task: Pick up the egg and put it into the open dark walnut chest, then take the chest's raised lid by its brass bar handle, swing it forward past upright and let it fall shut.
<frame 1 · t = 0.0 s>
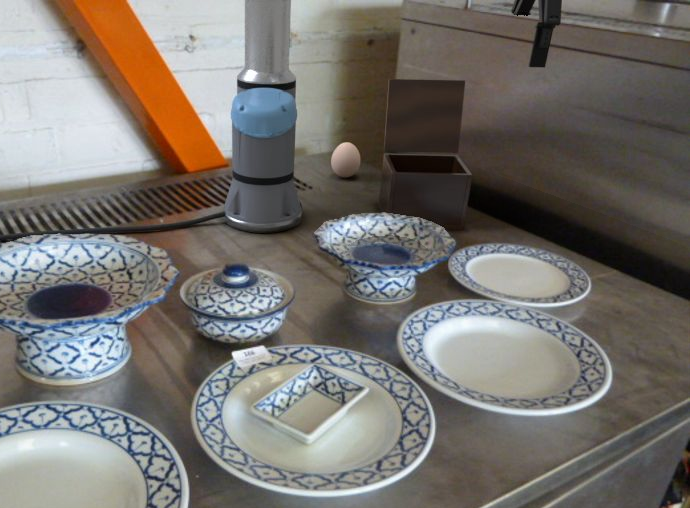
hand: (525, 61, 125), 28 cm above the counter, tool pointing down, fingers open, 13 cm apart
chest: (418, 217, 131), on the counter
lid: (421, 116, 131), point 17 cm above the counter, hinge at 105.0°
egg: (344, 177, 152), on the counter
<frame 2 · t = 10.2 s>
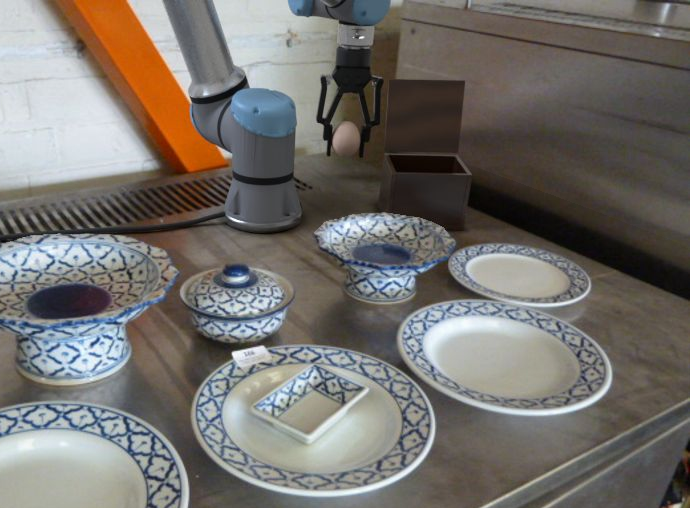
hand: (344, 155, 149), 5 cm above the counter, tool pointing down, fingers closed on egg, 7 cm apart
egg: (344, 157, 149), point 5 cm above the counter, touching gripper
everything else where it was.
when the fingers open (7 cm above the counter, at t = 21.0 s): egg stays where it is, point 1 cm above the counter.
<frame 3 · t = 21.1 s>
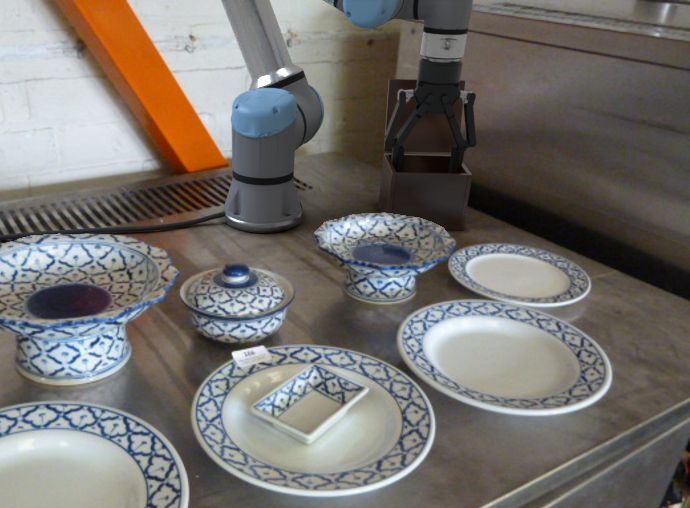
hand: (423, 181, 127), 7 cm above the counter, tool pointing down, fingers open, 9 cm apart
egg: (421, 212, 130), point 1 cm above the counter
everything else where it was.
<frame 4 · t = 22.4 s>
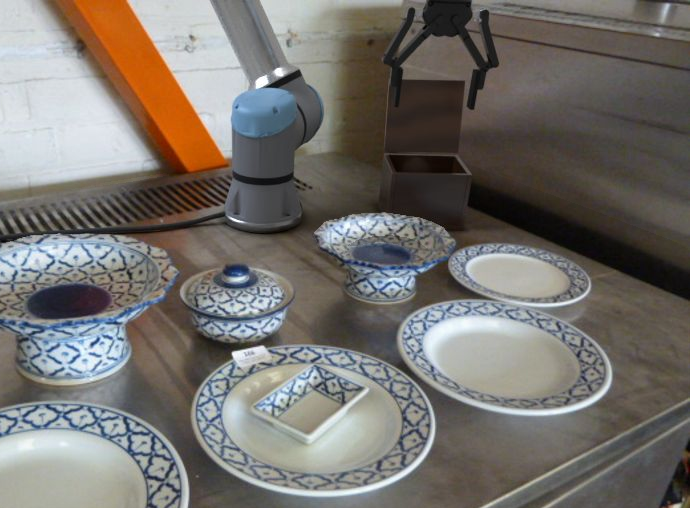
hand: (432, 107, 120), 21 cm above the counter, tool pointing down, fingers open, 13 cm apart
egg: (421, 214, 130), point 1 cm above the counter, touching chest
everything else where it was.
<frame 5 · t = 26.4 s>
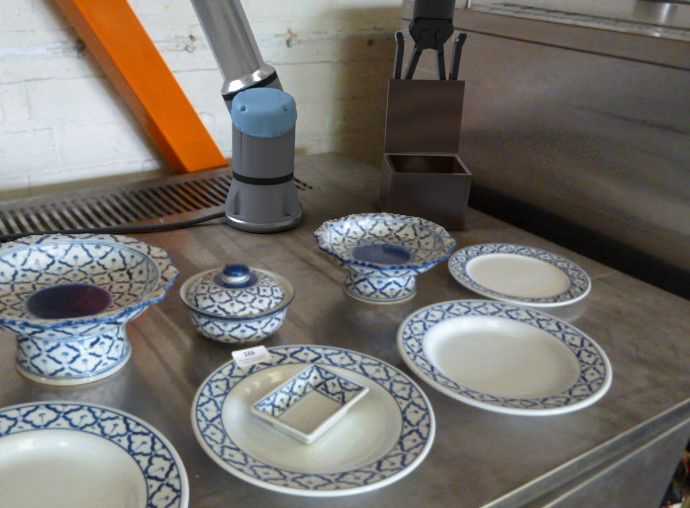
hand: (418, 122, 133), 16 cm above the counter, tool pointing down, fingers closed on lid, 5 cm apart
lid: (421, 116, 131), point 17 cm above the counter, hinge at 105.0°, touching gripper
everything else where it was.
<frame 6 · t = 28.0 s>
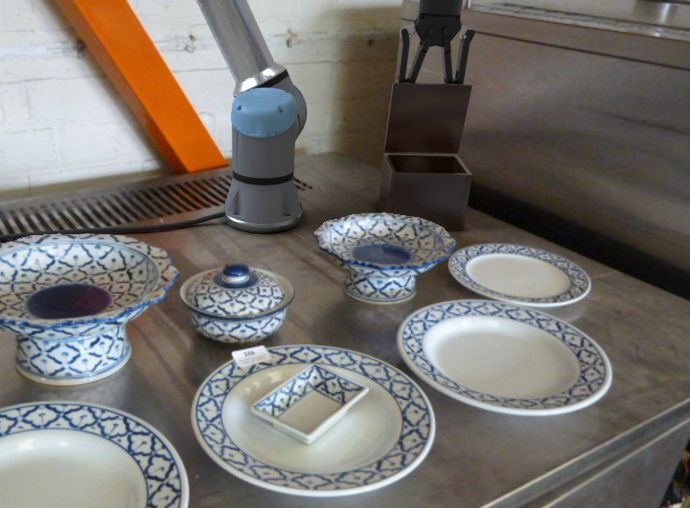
hand: (424, 122, 129), 17 cm above the counter, tool pointing down, fingers closed on lid, 5 cm apart
lid: (424, 114, 128), point 18 cm above the counter, hinge at 81.2°, touching gripper
everything else where it was.
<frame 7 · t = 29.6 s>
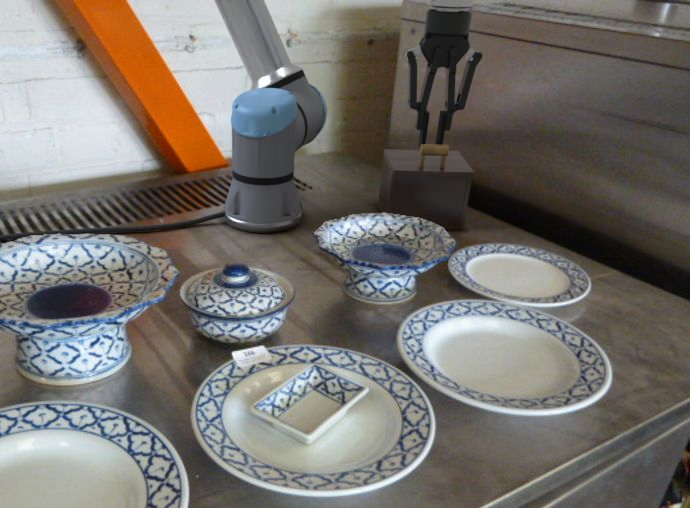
hand: (429, 147, 123), 14 cm above the counter, tool pointing down, fingers open, 2 cm apart
lid: (428, 151, 124), point 13 cm above the counter, hinge at -0.2°
everything else where it was.
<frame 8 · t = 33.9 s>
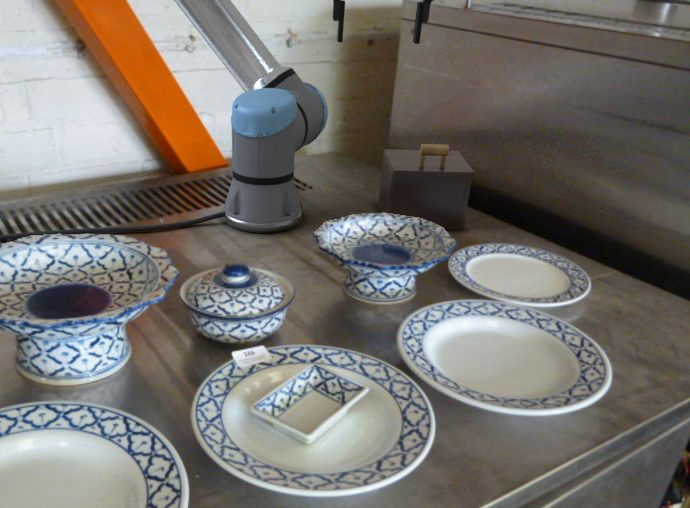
hand: (377, 42, 118), 32 cm above the counter, tool pointing down, fingers open, 13 cm apart
nothing on the counter moved.
at the end: egg inside the target area in the chest (0.5 cm from its centre), point 0.6 cm above the chest's base; lid at +0° (first picture: +105°) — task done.
